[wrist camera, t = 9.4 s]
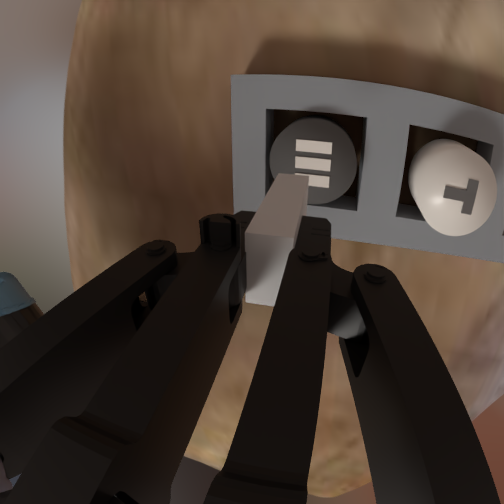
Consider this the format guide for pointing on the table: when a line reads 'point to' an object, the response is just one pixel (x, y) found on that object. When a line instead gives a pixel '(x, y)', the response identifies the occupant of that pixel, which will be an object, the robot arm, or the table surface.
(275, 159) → the button black
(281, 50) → the table surface
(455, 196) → the button white
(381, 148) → the panel
